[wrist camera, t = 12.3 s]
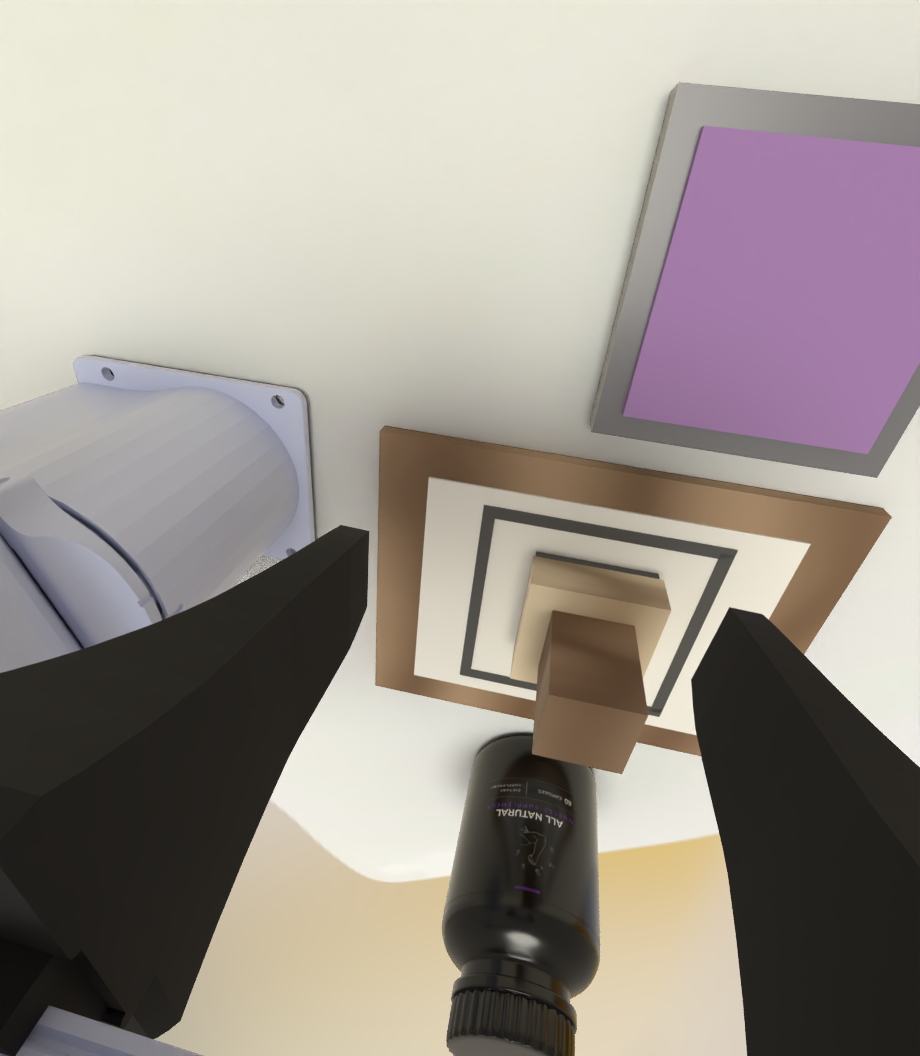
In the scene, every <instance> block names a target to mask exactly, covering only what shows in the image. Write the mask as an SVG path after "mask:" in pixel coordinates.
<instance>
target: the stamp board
mask: <svg viewBox="0 0 920 1056" xmlns="http://www.w3.org/2000/svg"><path fill="white" fill-rule="evenodd" d="M890 519H891V516H890V515H889V514H888V513H887V512H886V511H885V510H884V509H883V508H877V507H871V506H865V505H859V504H853V503H847V502H841V501H835V500H829V499H823V498H817V497H811V496H805V495H799V494H793V493H787V492H781V491H775V490H769V489H763V488H757V487H750V486H744V485H738V484H732V483H726V482H720V481H714V480H708V479H702V478H696V477H690V476H684V475H678V474H672V473H666V472H660V471H654V470H648V469H642V468H636V467H630V466H624V465H618V464H612V463H606V462H599V461H593V460H587V459H581V458H575V457H569V456H563V455H557V454H551V453H545V452H539V451H533V450H527V449H521V448H515V447H509V446H503V445H497V444H491V443H485V442H479V441H473V440H467V439H461V438H455V437H448V436H442V435H436V434H430V433H424V432H418V431H412V430H406V429H400V428H394V427H388V426H384V427H383V429H382V430H381V431H380V455H379V511H378V568H377V625H376V682H375V685H376V686H381V687H385V688H390V689H395V690H399V691H404V692H408V693H413V694H418V695H422V696H427V697H431V698H436V699H441V700H445V701H450V702H454V703H459V704H464V705H468V706H473V707H477V708H482V709H487V710H491V711H496V712H500V713H505V714H510V715H514V716H519V717H523V718H528V719H533V720H534V718H535V704H536V690H537V684H535V683H530V682H525V681H520V680H516V679H511V678H510V673H511V666H512V658H513V651H514V645H515V640H516V635H517V631H518V626H519V621H520V617H521V612H522V607H523V603H524V598H525V593H526V589H527V584H528V579H529V575H530V570H531V565H532V561H533V556H535V555H536V551H537V552H542V553H548V554H553V555H559V556H564V557H570V558H575V559H580V560H586V561H591V562H597V563H602V564H608V565H613V566H618V567H624V568H629V569H635V570H640V571H646V572H651V573H657V574H659V578H660V579H661V580H664V583H665V587H666V591H667V595H668V599H669V603H670V607H671V613H670V615H669V617H668V620H667V622H666V625H665V627H664V629H663V632H662V634H661V637H660V639H659V641H658V644H657V646H656V649H655V651H654V653H653V656H652V658H651V661H650V663H649V665H648V668H647V670H646V672H645V675H644V677H643V684H644V690H645V697H646V704H647V710H648V717H647V720H646V722H645V724H644V726H643V728H642V731H641V733H640V735H639V737H638V740H637V742H638V743H643V744H648V745H652V746H657V747H661V748H666V749H671V750H675V751H680V752H684V753H689V754H694V755H698V756H701V752H700V748H699V744H698V739H697V734H696V730H695V721H694V712H693V700H692V686H691V679H692V677H693V675H694V673H695V671H696V669H697V668H698V666H699V664H700V662H701V660H702V658H703V656H704V654H705V652H706V651H707V649H708V647H709V645H710V643H711V641H712V639H713V637H714V635H715V633H716V632H717V630H718V628H719V626H720V624H721V622H722V620H723V618H724V616H725V615H726V613H727V611H728V609H729V607H731V608H736V609H741V610H745V611H750V612H755V613H760V614H763V615H764V616H765V617H766V618H767V619H768V620H770V621H771V622H772V623H773V624H774V625H775V626H776V627H777V628H778V629H779V630H780V631H781V632H782V633H783V634H784V635H785V636H786V637H787V638H788V639H789V640H790V641H791V642H792V643H793V644H794V645H795V646H796V647H797V648H798V649H799V650H800V651H801V652H802V653H803V654H804V653H805V652H806V650H807V649H808V647H809V646H810V644H811V642H812V641H813V639H814V638H815V636H816V635H817V633H818V632H819V630H820V628H821V627H822V625H823V624H824V622H825V621H826V619H827V617H828V616H829V614H830V613H831V611H832V610H833V608H834V606H835V605H836V603H837V602H838V600H839V599H840V597H841V596H842V594H843V592H844V591H845V589H846V588H847V586H848V585H849V583H850V581H851V580H852V578H853V577H854V575H855V574H856V572H857V570H858V569H859V567H860V566H861V564H862V563H863V561H864V560H865V558H866V556H867V555H868V553H869V552H870V550H871V549H872V547H873V545H874V544H875V542H876V541H877V539H878V538H879V536H880V534H881V533H882V531H883V530H884V528H885V527H886V525H887V524H888V522H889V520H890Z"/></svg>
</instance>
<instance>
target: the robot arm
mask: <svg viewBox="0 0 920 1056" xmlns="http://www.w3.org/2000/svg"><path fill="white" fill-rule="evenodd" d="M73 364H74V370H75V373H76V377H77V380H78V384H75V385H72V386H70V387H67V388H64V389H61V390H58V391H55V392H53V393H50V394H47V395H44V396H41V397H38V398H36V399H33V400H30V401H27V402H24V403H22V404H19V405H16V406H13V407H10V408H7V409H5V410H2V411H0V1056H202V1055H199V1054H196V1053H193V1052H190V1051H187V1050H184V1049H181V1048H178V1047H175V1046H172V1045H169V1044H166V1043H162V1042H159V1041H156V1040H153V1039H155V1038H157V1037H159V1036H160V1035H162V1034H164V1033H165V1032H167V1031H168V1030H170V1029H171V1028H172V1027H173V1026H175V1025H176V1024H177V1023H178V1022H179V1021H180V1020H181V1018H182V1015H183V1012H184V1010H185V1007H186V1004H187V1002H188V999H189V996H190V994H191V991H192V988H193V985H194V983H195V981H196V978H197V975H198V973H199V970H200V968H201V965H202V962H203V959H204V957H205V954H206V952H207V949H208V947H209V944H210V942H211V939H212V936H213V933H214V931H215V928H216V926H217V923H218V921H219V919H220V916H221V914H222V911H223V909H224V906H225V904H226V901H227V899H228V896H229V894H230V892H231V889H232V887H233V884H234V882H235V879H236V877H237V874H238V872H239V869H240V867H241V864H242V862H243V859H244V857H245V855H246V853H247V850H248V848H249V845H250V843H251V841H252V839H253V836H254V834H255V832H256V829H257V827H258V825H259V822H260V820H261V818H262V815H263V813H264V811H265V808H266V806H267V804H268V802H269V799H270V797H271V795H272V793H273V791H274V788H275V786H276V784H277V782H278V779H279V777H280V775H281V773H282V771H283V768H284V766H285V764H286V762H287V760H288V758H289V756H290V754H291V752H292V750H293V748H294V746H295V744H296V742H297V740H298V738H299V737H300V735H301V733H302V731H303V730H304V728H305V726H306V724H307V723H308V721H309V719H310V717H311V716H312V714H313V712H314V710H315V709H316V707H317V705H318V704H319V702H320V700H321V698H322V697H323V695H324V693H325V691H326V690H327V688H328V686H329V684H330V683H331V681H332V679H333V677H334V676H335V674H336V672H337V670H338V669H339V667H340V665H341V663H342V661H343V660H344V658H345V656H346V654H347V652H348V651H349V649H350V647H351V645H352V642H353V640H354V637H355V635H356V633H357V630H358V628H359V626H360V623H361V620H362V618H363V615H364V613H365V610H366V608H367V590H368V553H369V531H366V530H361V529H357V528H352V527H347V526H342V525H340V526H339V527H337V528H335V529H333V530H332V531H330V532H328V533H327V534H325V535H323V536H322V537H320V538H318V539H317V540H315V530H314V513H313V497H312V480H311V464H310V448H309V431H308V415H307V402H306V398H305V397H304V395H303V393H301V392H300V391H299V390H297V389H294V388H289V387H282V386H276V385H270V384H264V383H258V382H251V381H245V380H239V379H233V378H227V377H220V376H214V375H208V374H202V373H196V372H189V371H183V370H177V369H171V368H164V367H158V366H152V365H146V364H140V363H133V362H127V361H121V360H115V359H109V358H102V357H96V356H90V355H83V356H80V357H77V358H76V359H75V360H74V363H73ZM109 369H110V370H111V371H112V372H113V374H114V377H113V376H112V375H111V373H110V371H109ZM276 395H278V396H280V397H281V398H282V399H283V401H284V406H283V405H281V404H279V403H278V402H277V400H276ZM290 548H291V549H294V550H295V551H296V552H295V553H294V552H292V551H291V549H290ZM261 556H266V557H272V558H277V559H282V561H280V562H278V563H277V564H275V565H273V566H272V567H270V568H268V569H266V570H265V571H263V572H261V573H259V574H257V575H255V576H253V577H252V578H250V579H248V580H246V581H244V582H242V583H240V584H238V585H236V584H237V582H238V581H239V580H240V579H241V578H242V577H243V576H244V575H245V573H246V572H247V571H248V570H249V569H250V568H251V567H252V566H253V564H254V563H255V562H256V561H257V560H258V559H259V558H260V557H261ZM235 585H236V586H235ZM691 686H692V700H693V712H694V721H695V730H696V734H697V739H698V744H699V748H700V752H701V757H702V761H703V766H704V770H705V774H706V779H707V783H708V787H709V791H710V795H711V800H712V804H713V808H714V812H715V817H716V821H717V825H718V829H719V834H720V837H721V842H722V846H723V851H724V857H725V862H726V867H727V872H728V878H729V885H730V893H731V901H732V909H733V916H734V924H735V932H736V940H737V949H738V958H739V968H740V978H741V987H742V996H743V1006H744V1019H745V1032H746V1045H747V1056H920V767H919V766H917V765H916V764H915V763H914V762H913V761H912V760H911V759H910V758H909V757H908V756H906V755H905V754H904V753H903V752H902V751H901V750H900V749H899V748H898V747H897V746H896V745H895V744H894V743H892V742H891V741H890V740H889V739H888V738H887V737H886V736H885V735H884V734H883V733H882V732H881V731H879V730H878V729H877V728H876V727H875V726H874V725H873V724H872V723H871V722H870V721H869V720H868V719H867V718H866V717H865V716H864V715H863V714H862V713H861V712H860V711H859V710H858V709H857V708H856V707H855V706H854V705H853V704H852V703H851V702H850V701H849V700H848V699H847V698H846V697H845V696H844V695H843V694H842V693H841V692H840V691H839V690H838V689H837V688H836V687H835V686H834V685H833V684H832V683H831V682H830V681H829V680H828V679H827V678H826V677H825V676H824V675H823V674H822V673H821V672H820V671H819V670H818V669H817V668H816V667H815V666H814V665H813V664H812V663H811V662H810V661H809V660H808V659H807V657H806V656H805V655H804V654H803V653H802V652H801V651H800V650H799V649H798V648H797V647H796V646H795V645H794V644H793V643H792V642H791V641H790V640H789V639H788V638H787V637H786V636H785V635H784V634H783V633H782V632H781V631H780V630H779V629H778V628H777V627H776V626H775V625H774V624H773V623H772V622H771V621H770V620H768V619H767V618H766V617H765V616H764V615H763V614H760V613H755V612H750V611H745V610H741V609H736V608H731V607H729V609H728V611H727V613H726V615H725V616H724V618H723V620H722V622H721V624H720V626H719V628H718V630H717V632H716V633H715V635H714V637H713V639H712V641H711V643H710V645H709V647H708V649H707V651H706V652H705V654H704V656H703V658H702V660H701V662H700V664H699V666H698V668H697V669H696V671H695V673H694V675H693V677H692V679H691Z"/></svg>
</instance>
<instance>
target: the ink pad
mask: <svg viewBox="0 0 920 1056" xmlns="http://www.w3.org/2000/svg"><path fill="white" fill-rule="evenodd" d="M919 406H920V105H919V104H909V103H898V102H887V101H876V100H865V99H854V98H843V97H833V96H822V95H811V94H800V93H789V92H778V91H767V90H757V89H746V88H735V87H724V86H713V85H702V84H691V83H680V82H679V83H678V84H677V85H676V86H675V88H674V89H673V90H672V91H671V94H670V98H669V102H668V106H667V110H666V114H665V118H664V122H663V126H662V130H661V134H660V139H659V143H658V147H657V151H656V155H655V159H654V163H653V167H652V171H651V175H650V179H649V183H648V187H647V192H646V196H645V200H644V204H643V208H642V212H641V216H640V220H639V224H638V228H637V232H636V236H635V240H634V244H633V249H632V253H631V257H630V261H629V265H628V269H627V273H626V277H625V281H624V285H623V289H622V293H621V297H620V301H619V306H618V310H617V314H616V318H615V322H614V326H613V330H612V334H611V338H610V342H609V346H608V350H607V354H606V359H605V363H604V367H603V371H602V375H601V379H600V383H599V387H598V391H597V395H596V399H595V403H594V407H593V411H592V416H591V431H592V432H595V433H601V434H607V435H613V436H619V437H626V438H632V439H638V440H644V441H651V442H657V443H663V444H669V445H676V446H682V447H688V448H694V449H701V450H707V451H713V452H719V453H726V454H732V455H738V456H744V457H751V458H757V459H763V460H769V461H776V462H782V463H788V464H794V465H801V466H807V467H813V468H819V469H825V470H832V471H838V472H844V473H850V474H857V475H863V476H869V477H875V478H877V477H878V475H879V473H880V472H881V470H882V468H883V467H884V465H885V463H886V462H887V460H888V458H889V457H890V455H891V453H892V451H893V450H894V448H895V446H896V445H897V443H898V441H899V440H900V438H901V436H902V435H903V433H904V431H905V430H906V428H907V426H908V424H909V423H910V421H911V419H912V418H913V416H914V414H915V413H916V411H917V409H918V408H919Z"/></svg>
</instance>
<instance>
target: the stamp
mask: <svg viewBox="0 0 920 1056" xmlns="http://www.w3.org/2000/svg"><path fill="white" fill-rule="evenodd" d="M670 613H671V607H670V603H669V599H668V595H667V591H666V587H665V583H664V580H661V579H660V578H659V574H657V573H651V572H646V571H640V570H635V569H629V568H624V567H618V566H613V565H608V564H602V563H597V562H591V561H586V560H580V559H575V558H570V557H564V556H559V555H553V554H548V553H542V552H537V551H536V555H535V556H533V561H532V565H531V570H530V575H529V579H528V584H527V589H526V593H525V598H524V603H523V607H522V612H521V617H520V621H519V626H518V631H517V635H516V640H515V645H514V651H513V658H512V666H511V673H510V678H511V679H516V680H520V681H525V682H530V683H535V684H537V690H536V704H535V718H534V731H533V745H532V754H534V755H538V756H543V757H547V758H552V759H556V760H561V761H565V762H570V763H574V764H579V765H583V766H588V767H592V768H597V769H601V770H606V771H610V772H614V773H619V774H622V773H623V771H624V768H625V766H626V764H627V762H628V759H629V757H630V755H631V753H632V751H633V748H634V746H635V744H636V742H637V740H638V737H639V735H640V733H641V731H642V728H643V726H644V724H645V722H646V720H647V717H648V710H647V704H646V697H645V690H644V684H643V677H644V675H645V672H646V670H647V668H648V665H649V663H650V661H651V658H652V656H653V653H654V651H655V649H656V646H657V644H658V641H659V639H660V637H661V634H662V632H663V629H664V627H665V625H666V622H667V620H668V617H669V615H670Z"/></svg>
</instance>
